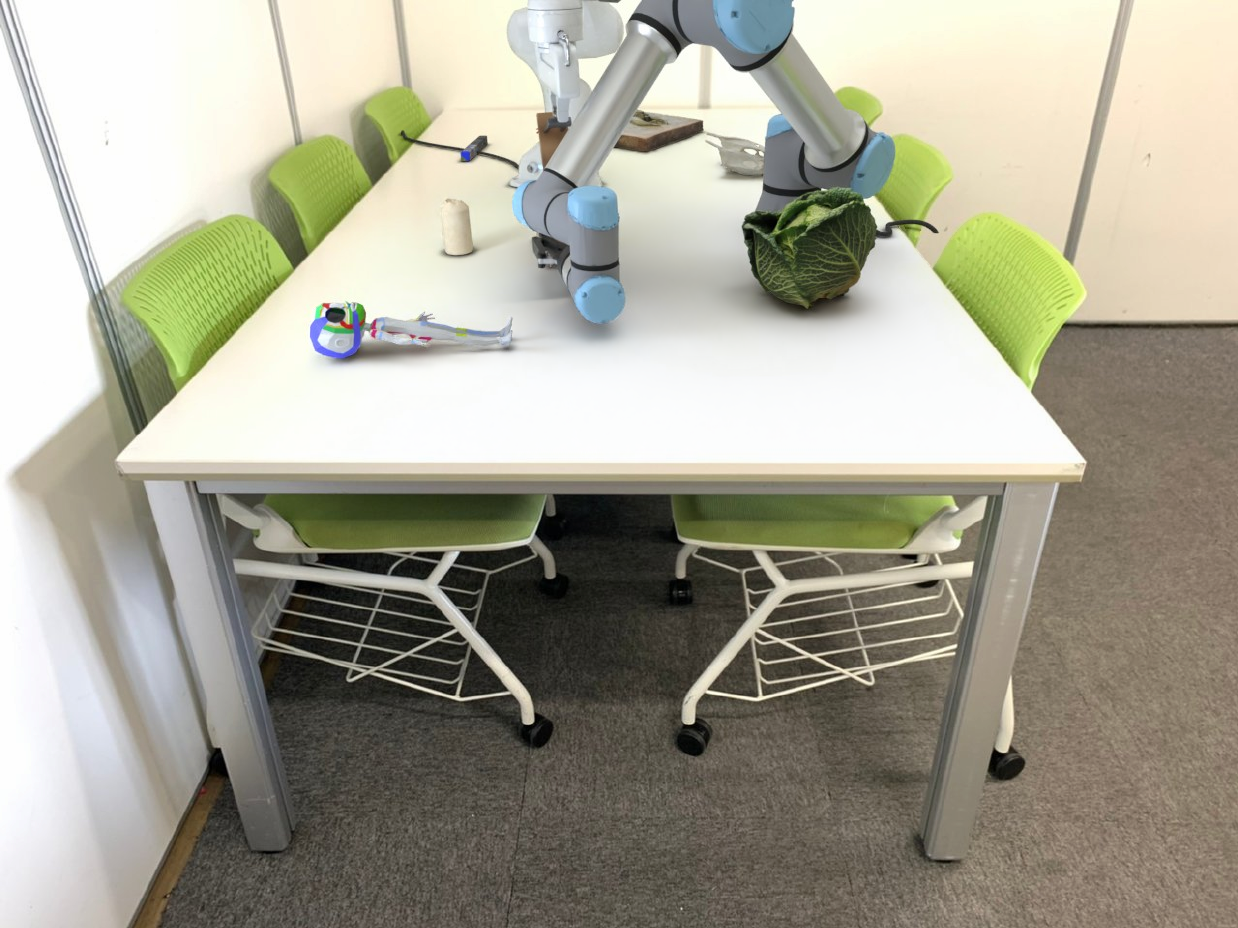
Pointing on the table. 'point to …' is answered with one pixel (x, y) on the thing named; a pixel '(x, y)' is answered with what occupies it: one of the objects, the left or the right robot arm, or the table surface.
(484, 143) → the grey square bar
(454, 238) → the candle
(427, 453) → the table surface
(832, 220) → the vegetable
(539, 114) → the lid
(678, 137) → the plaque
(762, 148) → the anatomical model
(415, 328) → the toy
